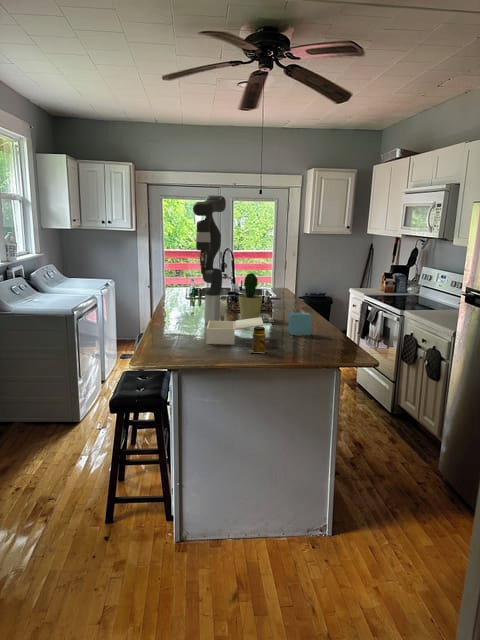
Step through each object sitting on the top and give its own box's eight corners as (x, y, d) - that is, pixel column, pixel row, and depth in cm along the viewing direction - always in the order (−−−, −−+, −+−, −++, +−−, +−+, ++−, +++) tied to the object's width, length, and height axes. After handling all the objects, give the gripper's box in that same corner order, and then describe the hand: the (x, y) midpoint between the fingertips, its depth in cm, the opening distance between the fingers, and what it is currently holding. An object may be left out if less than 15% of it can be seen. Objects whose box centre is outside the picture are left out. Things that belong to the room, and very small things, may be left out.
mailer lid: (263, 324, 224) (263, 325, 224) (261, 317, 242) (261, 318, 242) (235, 328, 224) (235, 329, 224) (235, 320, 242) (235, 321, 242)
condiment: (267, 353, 212) (268, 329, 209) (250, 354, 210) (250, 329, 207) (263, 349, 219) (263, 325, 216) (246, 350, 217) (246, 326, 214)
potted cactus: (249, 322, 276) (250, 274, 269) (233, 318, 287) (233, 271, 280) (267, 319, 286) (268, 272, 279) (250, 315, 297) (251, 270, 290)
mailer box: (206, 343, 226) (206, 328, 224) (208, 335, 243) (208, 320, 242) (234, 344, 226) (234, 329, 224) (234, 335, 244) (234, 321, 242)
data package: (309, 333, 252) (310, 312, 249) (311, 335, 247) (312, 314, 245) (288, 333, 251) (289, 312, 248) (289, 335, 246) (290, 314, 244)
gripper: (209, 241, 229) (209, 275, 233) (211, 240, 242) (210, 272, 246) (195, 241, 229) (195, 275, 233) (197, 240, 242) (197, 272, 246)
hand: (203, 273), depth 240 cm, fingers closed
